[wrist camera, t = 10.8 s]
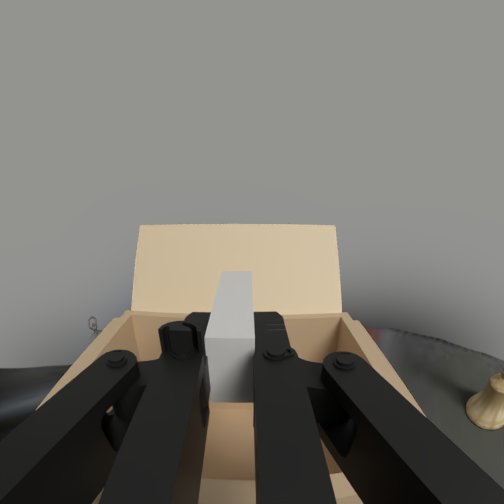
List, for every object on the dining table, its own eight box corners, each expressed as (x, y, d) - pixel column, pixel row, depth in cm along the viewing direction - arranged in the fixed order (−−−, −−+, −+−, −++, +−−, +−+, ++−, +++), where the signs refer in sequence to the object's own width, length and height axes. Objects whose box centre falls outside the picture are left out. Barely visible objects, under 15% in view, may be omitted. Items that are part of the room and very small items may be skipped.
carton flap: (335, 225, 32) (333, 227, 32) (140, 225, 31) (141, 227, 32) (342, 312, 29) (340, 313, 29) (131, 310, 28) (133, 311, 29)
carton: (376, 536, 12) (453, 460, 9) (93, 526, 12) (11, 441, 8) (333, 404, 32) (352, 312, 29) (143, 401, 32) (121, 309, 28)
